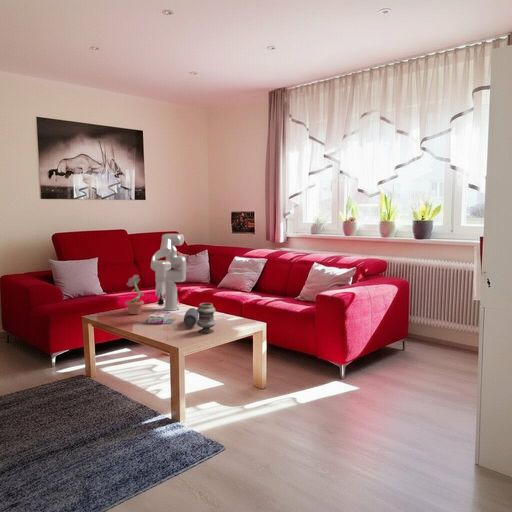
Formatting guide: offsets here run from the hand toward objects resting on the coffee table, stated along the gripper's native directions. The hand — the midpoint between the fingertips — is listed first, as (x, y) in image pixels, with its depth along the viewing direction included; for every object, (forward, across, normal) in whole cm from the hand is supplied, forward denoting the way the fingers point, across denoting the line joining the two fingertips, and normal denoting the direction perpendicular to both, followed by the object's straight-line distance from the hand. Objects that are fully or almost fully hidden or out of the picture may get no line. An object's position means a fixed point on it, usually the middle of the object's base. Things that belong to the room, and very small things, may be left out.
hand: (161, 304), depth 322 cm
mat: (+11, +4, 0) cm, 12 cm away
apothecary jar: (+11, +29, +37) cm, 48 cm away
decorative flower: (+11, -19, -25) cm, 33 cm away
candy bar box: (+8, -4, 0) cm, 9 cm away
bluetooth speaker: (+11, +12, +24) cm, 29 cm away
